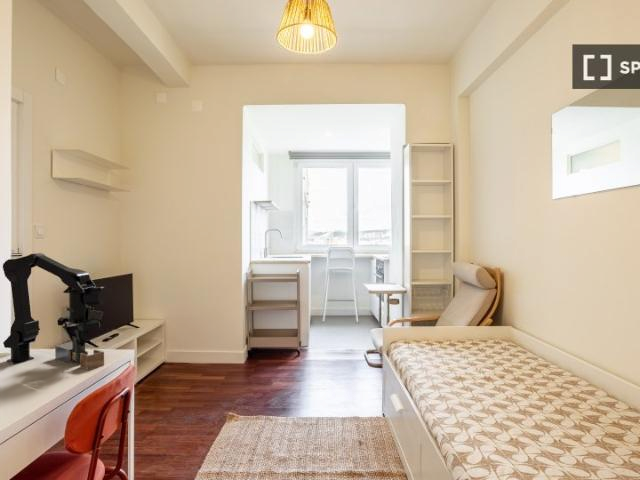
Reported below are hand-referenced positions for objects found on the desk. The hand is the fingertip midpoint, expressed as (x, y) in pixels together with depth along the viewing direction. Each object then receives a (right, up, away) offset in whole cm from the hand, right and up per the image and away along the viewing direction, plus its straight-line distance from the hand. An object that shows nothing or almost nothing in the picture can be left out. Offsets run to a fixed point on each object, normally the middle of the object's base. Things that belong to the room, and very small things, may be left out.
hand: (78, 345), depth 139 cm
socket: (+7, -7, -4) cm, 11 cm away
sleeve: (-6, -6, +4) cm, 10 cm away
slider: (-4, -5, +2) cm, 7 cm away
